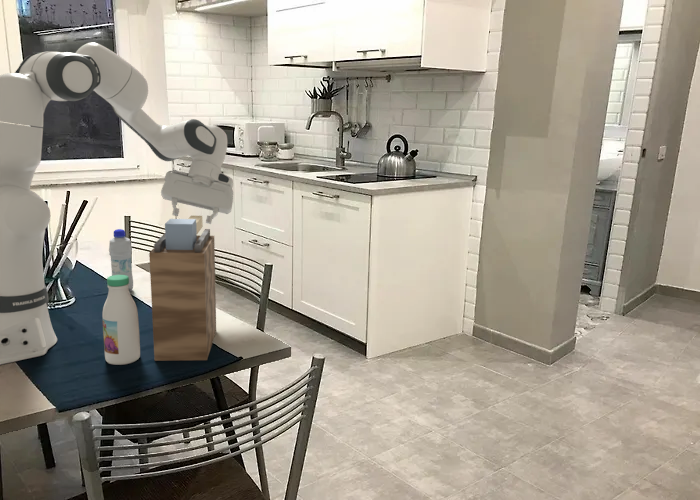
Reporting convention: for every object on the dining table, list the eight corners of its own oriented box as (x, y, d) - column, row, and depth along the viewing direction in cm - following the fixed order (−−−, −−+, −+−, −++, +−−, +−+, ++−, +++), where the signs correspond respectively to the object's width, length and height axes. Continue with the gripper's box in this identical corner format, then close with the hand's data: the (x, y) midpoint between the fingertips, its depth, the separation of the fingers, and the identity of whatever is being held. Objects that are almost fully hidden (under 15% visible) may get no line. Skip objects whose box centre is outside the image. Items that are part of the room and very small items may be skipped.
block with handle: (192, 249, 133) (192, 224, 132) (165, 249, 132) (164, 223, 131) (208, 226, 158) (207, 204, 157) (185, 226, 157) (184, 204, 156)
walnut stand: (206, 360, 137) (204, 245, 130) (154, 360, 135) (148, 244, 129) (216, 331, 154) (214, 228, 147) (169, 331, 153) (165, 228, 146)
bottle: (107, 291, 182) (103, 229, 178) (127, 286, 187) (124, 226, 183) (118, 296, 178) (114, 232, 173) (138, 291, 183) (135, 229, 178)
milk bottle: (138, 349, 141) (133, 270, 136) (142, 362, 134) (138, 279, 129) (103, 354, 137) (97, 274, 133) (106, 368, 131) (100, 283, 126)
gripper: (167, 163, 166) (153, 205, 160) (238, 180, 169) (227, 222, 164) (168, 173, 172) (155, 214, 166) (236, 190, 175) (226, 231, 170)
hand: (191, 218), depth 165 cm, fingers open, 8 cm apart
